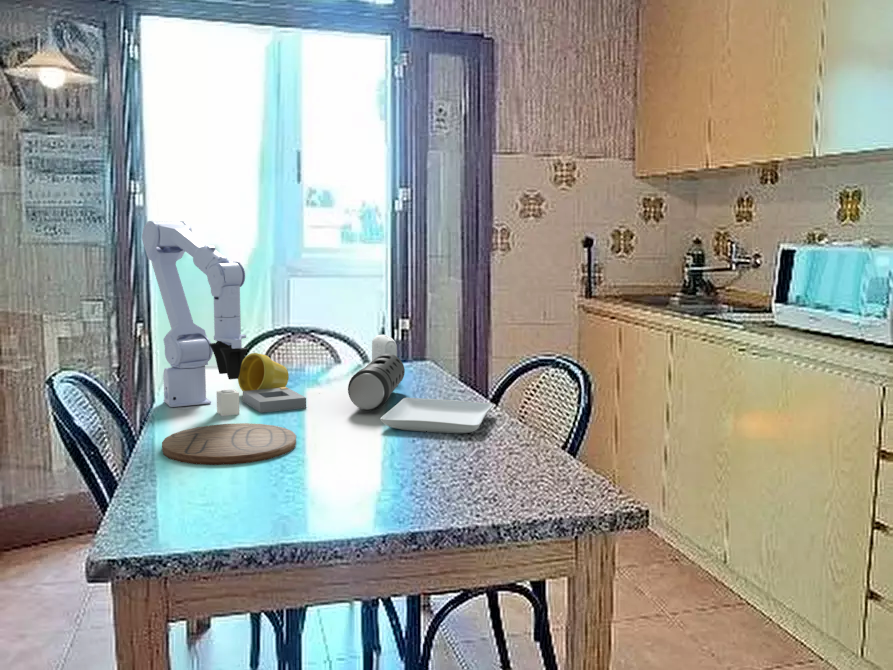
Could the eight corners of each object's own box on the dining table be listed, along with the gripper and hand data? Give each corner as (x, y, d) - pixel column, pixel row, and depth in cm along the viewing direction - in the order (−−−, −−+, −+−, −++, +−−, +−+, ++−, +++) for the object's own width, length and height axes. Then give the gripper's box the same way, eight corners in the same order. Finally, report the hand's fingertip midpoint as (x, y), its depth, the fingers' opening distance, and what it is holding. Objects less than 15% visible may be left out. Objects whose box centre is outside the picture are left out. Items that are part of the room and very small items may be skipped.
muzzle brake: (405, 392, 214) (405, 352, 212) (387, 417, 186) (387, 371, 185) (369, 391, 214) (369, 352, 213) (345, 415, 187) (345, 370, 185)
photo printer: (398, 381, 228) (398, 336, 227) (384, 382, 226) (384, 337, 225) (383, 375, 237) (383, 332, 236) (369, 376, 235) (369, 333, 234)
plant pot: (299, 384, 208) (269, 379, 200) (273, 405, 212) (243, 402, 205) (287, 350, 213) (258, 344, 205) (262, 372, 217) (232, 367, 209)
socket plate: (260, 412, 188) (260, 401, 187) (242, 401, 200) (242, 390, 200) (306, 408, 193) (306, 396, 193) (286, 397, 205) (286, 386, 205)
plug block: (221, 416, 184) (221, 393, 184) (217, 412, 188) (216, 390, 187) (239, 414, 186) (238, 391, 186) (234, 410, 190) (234, 388, 189)
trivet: (157, 471, 144) (157, 460, 144) (166, 435, 168) (165, 426, 168) (302, 462, 151) (302, 451, 150) (290, 429, 175) (290, 420, 174)
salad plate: (479, 439, 168) (479, 423, 167) (378, 433, 172) (378, 417, 172) (494, 416, 188) (494, 402, 188) (403, 411, 193) (403, 397, 192)
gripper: (254, 318, 180) (255, 379, 182) (235, 312, 193) (237, 369, 195) (222, 320, 177) (224, 382, 179) (205, 313, 189) (207, 372, 191)
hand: (228, 376), depth 186 cm, fingers open, 7 cm apart
